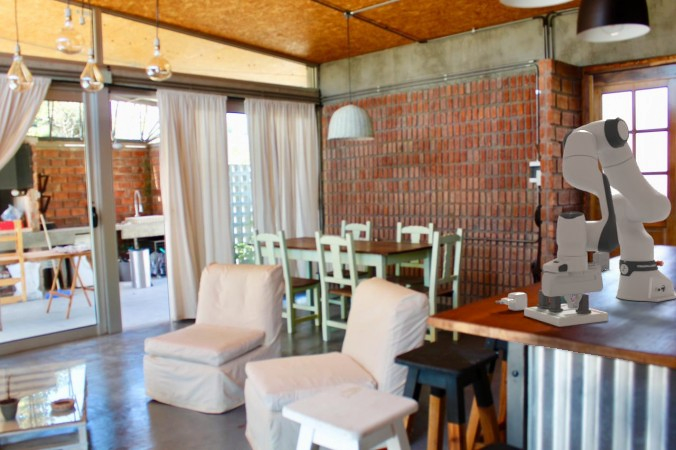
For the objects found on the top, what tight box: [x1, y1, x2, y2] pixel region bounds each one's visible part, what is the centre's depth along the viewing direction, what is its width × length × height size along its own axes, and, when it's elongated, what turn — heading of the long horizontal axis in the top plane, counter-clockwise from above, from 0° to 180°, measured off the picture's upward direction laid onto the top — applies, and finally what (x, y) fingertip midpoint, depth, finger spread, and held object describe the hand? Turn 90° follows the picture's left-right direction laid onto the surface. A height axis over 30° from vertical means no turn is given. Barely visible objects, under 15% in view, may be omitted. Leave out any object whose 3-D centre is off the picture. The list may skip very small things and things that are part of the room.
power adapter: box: [495, 291, 528, 311], centre depth 204 cm, size 11×5×6 cm, turn 111°
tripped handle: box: [576, 293, 591, 314], centre depth 184 cm, size 3×3×6 cm
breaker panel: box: [523, 303, 609, 327], centre depth 189 cm, size 18×18×3 cm
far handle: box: [536, 289, 550, 309], centre depth 194 cm, size 3×3×6 cm
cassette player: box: [592, 251, 611, 272], centre depth 288 cm, size 16×3×10 cm, turn 138°
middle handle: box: [548, 296, 563, 312], centre depth 188 cm, size 3×3×6 cm
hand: (573, 308), depth 183 cm, fingers closed
